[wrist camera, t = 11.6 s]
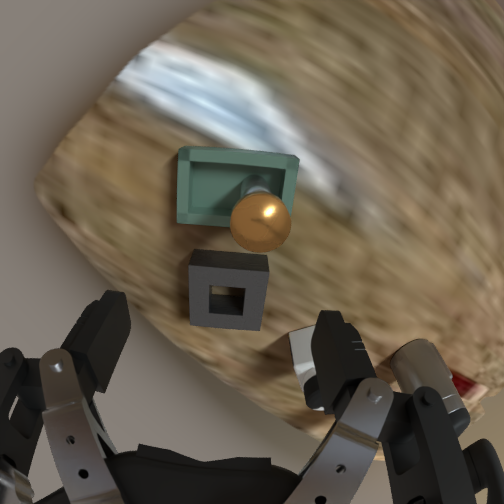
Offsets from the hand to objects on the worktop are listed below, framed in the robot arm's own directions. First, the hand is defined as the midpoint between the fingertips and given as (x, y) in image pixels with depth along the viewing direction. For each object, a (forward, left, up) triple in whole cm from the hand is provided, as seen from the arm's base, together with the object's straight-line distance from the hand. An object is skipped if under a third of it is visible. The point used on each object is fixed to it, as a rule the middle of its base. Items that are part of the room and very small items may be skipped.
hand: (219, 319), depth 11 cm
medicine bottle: (-14, +23, -22) cm, 35 cm away
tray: (0, 0, -22) cm, 22 cm away
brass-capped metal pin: (-2, 0, -21) cm, 21 cm away
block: (0, +13, -22) cm, 25 cm away
